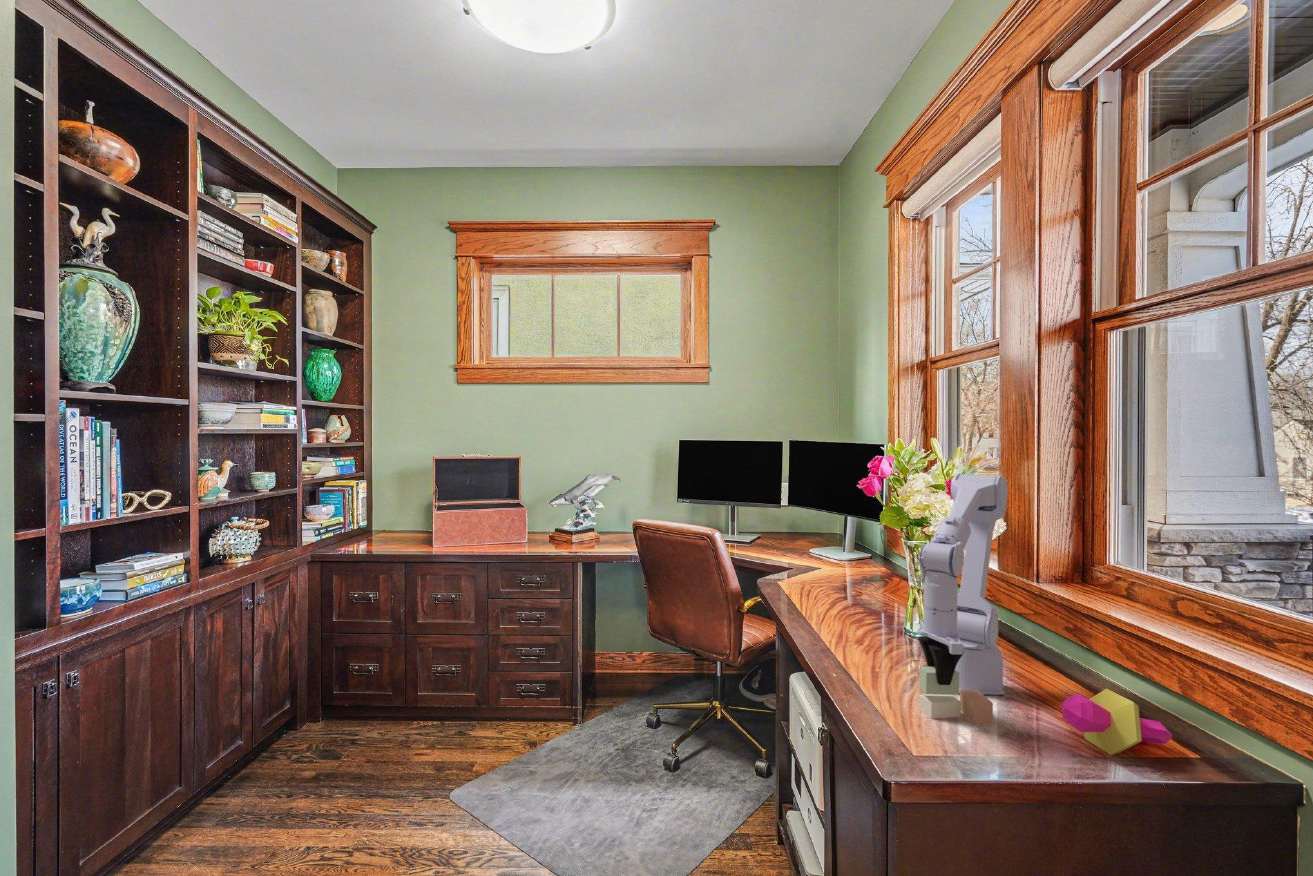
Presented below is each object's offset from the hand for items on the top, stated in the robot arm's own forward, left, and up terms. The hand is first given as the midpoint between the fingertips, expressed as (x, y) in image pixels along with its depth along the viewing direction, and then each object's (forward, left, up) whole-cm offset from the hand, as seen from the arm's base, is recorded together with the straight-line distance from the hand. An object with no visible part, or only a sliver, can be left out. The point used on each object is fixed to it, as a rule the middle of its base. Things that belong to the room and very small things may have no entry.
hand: (939, 680), depth 120 cm
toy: (-24, +12, -6) cm, 27 cm away
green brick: (0, 0, -2) cm, 2 cm away
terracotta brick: (-6, +1, -6) cm, 9 cm away
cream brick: (0, 0, -6) cm, 6 cm away
